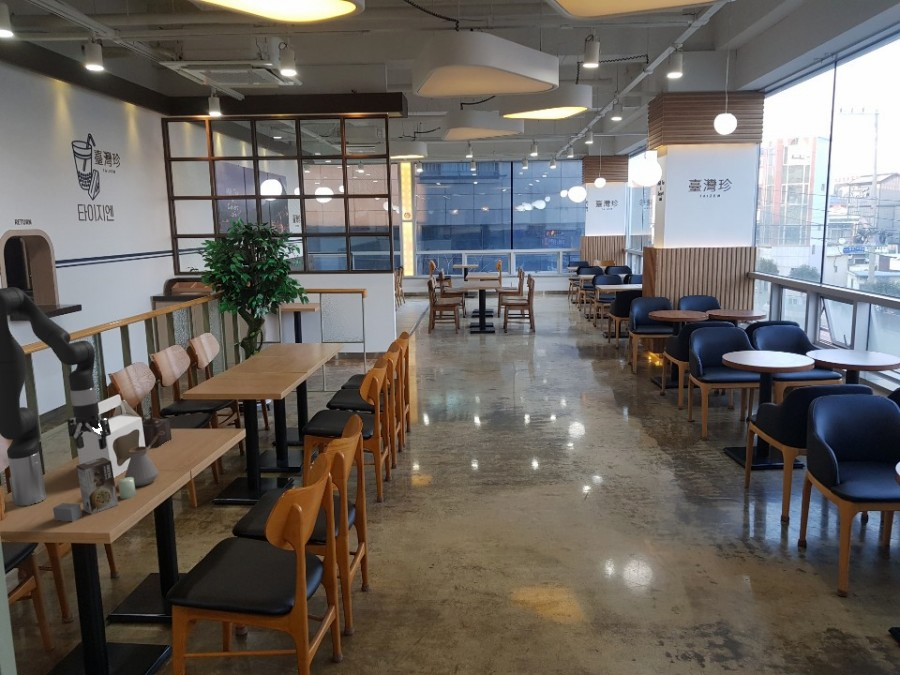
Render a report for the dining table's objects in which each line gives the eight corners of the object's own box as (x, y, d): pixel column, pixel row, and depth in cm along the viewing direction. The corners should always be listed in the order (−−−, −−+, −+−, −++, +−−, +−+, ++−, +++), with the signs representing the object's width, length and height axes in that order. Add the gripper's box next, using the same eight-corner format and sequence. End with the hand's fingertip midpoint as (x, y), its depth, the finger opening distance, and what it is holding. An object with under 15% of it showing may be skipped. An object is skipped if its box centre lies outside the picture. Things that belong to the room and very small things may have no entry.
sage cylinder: (117, 498, 241) (114, 482, 240) (126, 492, 245) (124, 476, 244) (129, 499, 240) (127, 483, 238) (138, 493, 244) (136, 477, 243)
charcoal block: (55, 521, 225) (52, 508, 224) (64, 515, 229) (62, 503, 228) (72, 522, 223) (70, 509, 222) (82, 516, 227) (80, 504, 226)
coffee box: (110, 500, 239) (103, 456, 236) (118, 505, 235) (112, 460, 232) (82, 510, 232) (75, 464, 229) (91, 514, 228) (84, 468, 225)
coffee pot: (147, 489, 248) (141, 449, 245) (118, 488, 250) (113, 448, 247) (180, 466, 269) (175, 430, 266) (153, 466, 271) (148, 429, 268)
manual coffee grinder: (150, 438, 305) (145, 399, 302) (172, 439, 303) (167, 400, 299) (127, 451, 290) (121, 410, 287) (150, 451, 288) (144, 410, 284)
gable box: (118, 457, 283) (109, 391, 278) (147, 458, 280) (138, 391, 275) (81, 478, 261) (70, 407, 256) (112, 479, 259) (101, 408, 254)
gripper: (57, 404, 225) (65, 451, 228) (95, 405, 222) (102, 452, 225) (74, 398, 232) (82, 444, 235) (111, 398, 229) (118, 445, 232)
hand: (92, 448), depth 230 cm, fingers open, 8 cm apart
